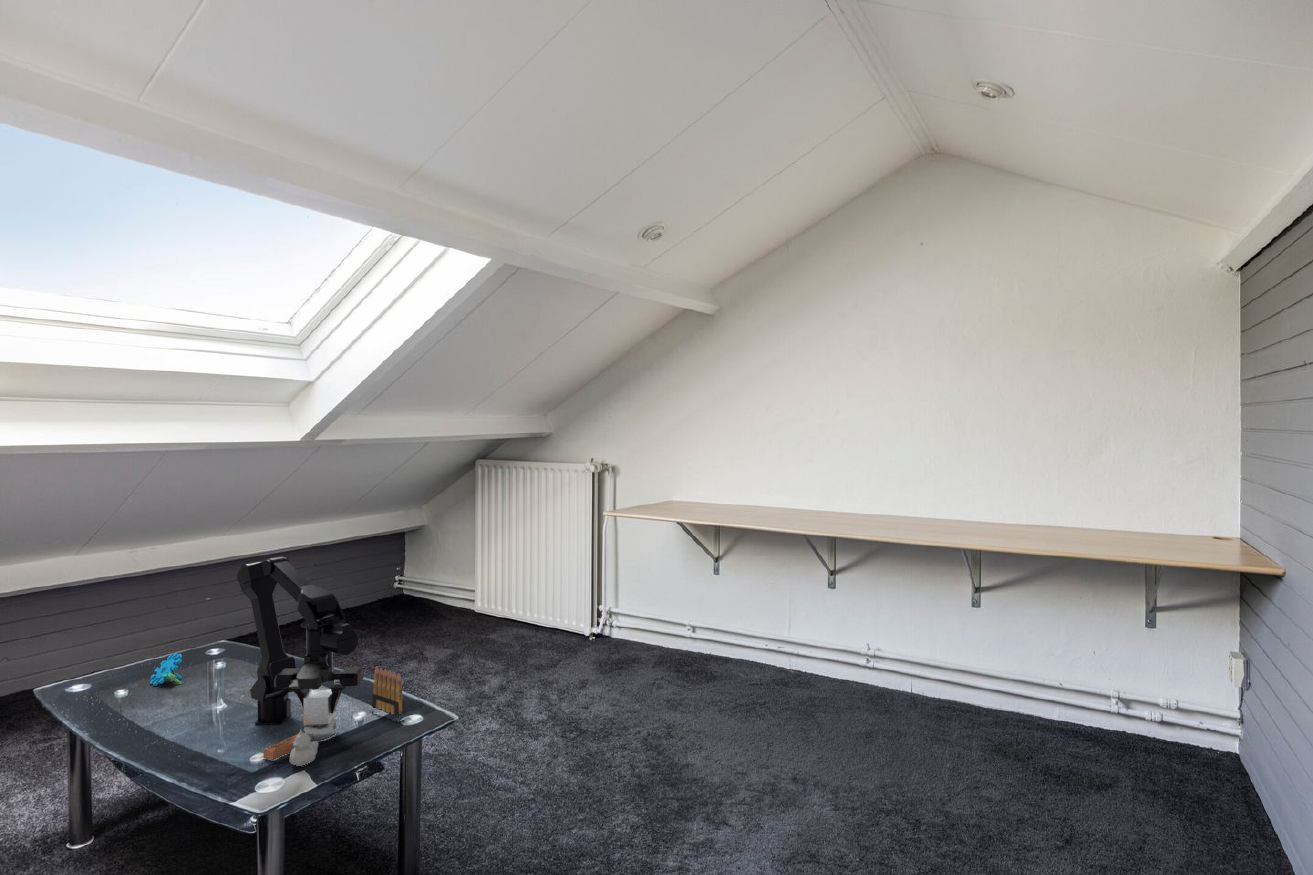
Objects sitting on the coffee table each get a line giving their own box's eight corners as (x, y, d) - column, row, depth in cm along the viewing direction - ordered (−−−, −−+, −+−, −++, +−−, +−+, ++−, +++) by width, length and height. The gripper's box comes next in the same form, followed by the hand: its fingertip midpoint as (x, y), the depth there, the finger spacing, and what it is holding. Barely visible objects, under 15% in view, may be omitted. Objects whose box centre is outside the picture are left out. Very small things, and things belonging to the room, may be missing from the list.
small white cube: (303, 724, 179) (303, 698, 179) (312, 715, 185) (312, 689, 185) (328, 723, 180) (328, 697, 180) (336, 714, 185) (335, 689, 185)
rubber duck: (282, 766, 167) (282, 730, 166) (309, 755, 173) (309, 719, 172) (299, 772, 164) (299, 735, 164) (325, 760, 170) (325, 724, 170)
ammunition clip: (371, 713, 197) (371, 666, 196) (378, 710, 198) (377, 664, 198) (398, 722, 191) (397, 674, 190) (404, 720, 192) (404, 672, 192)
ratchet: (321, 728, 187) (321, 703, 187) (343, 733, 184) (342, 708, 184) (257, 757, 171) (256, 730, 171) (279, 763, 168) (279, 736, 168)
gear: (145, 674, 220) (175, 646, 223) (162, 685, 223) (191, 657, 226) (151, 690, 211) (181, 660, 215) (168, 701, 215) (198, 672, 218)
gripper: (263, 659, 173) (264, 728, 173) (349, 657, 175) (350, 726, 175) (283, 644, 184) (284, 709, 185) (364, 642, 186) (364, 707, 186)
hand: (320, 713), depth 182 cm, fingers closed on small white cube, 5 cm apart
